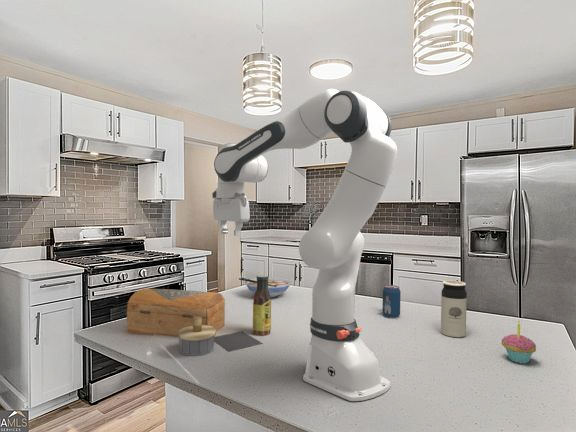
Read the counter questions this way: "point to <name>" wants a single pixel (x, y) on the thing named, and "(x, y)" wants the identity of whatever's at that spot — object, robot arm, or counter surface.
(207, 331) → the lid
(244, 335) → the mat
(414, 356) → the counter surface
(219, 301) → the wooden box
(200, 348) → the bowl
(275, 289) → the ramen bowl
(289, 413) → the counter surface
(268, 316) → the sauce bottle
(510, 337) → the cupcake
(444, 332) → the travel mug
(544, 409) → the counter surface
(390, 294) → the soda can
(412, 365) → the counter surface
